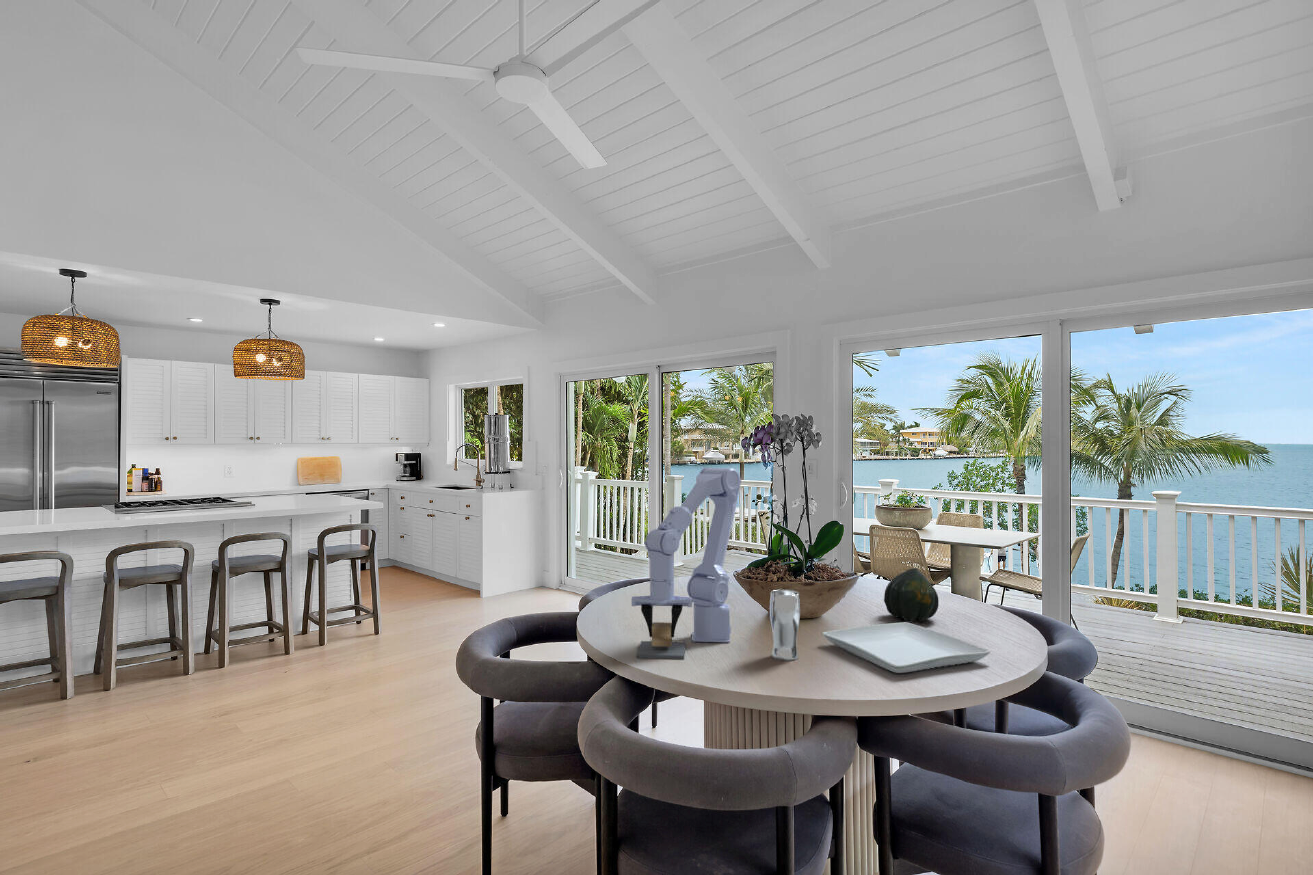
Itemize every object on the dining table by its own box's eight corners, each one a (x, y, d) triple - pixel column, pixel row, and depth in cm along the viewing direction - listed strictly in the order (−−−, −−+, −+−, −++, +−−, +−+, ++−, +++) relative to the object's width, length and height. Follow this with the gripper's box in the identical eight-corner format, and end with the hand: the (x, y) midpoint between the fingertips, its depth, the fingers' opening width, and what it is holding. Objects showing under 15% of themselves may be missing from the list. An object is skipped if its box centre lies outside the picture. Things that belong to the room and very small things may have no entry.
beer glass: (804, 655, 157) (803, 591, 157) (794, 663, 151) (794, 596, 151) (776, 650, 160) (775, 588, 161) (765, 658, 154) (765, 593, 155)
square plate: (820, 646, 165) (819, 630, 165) (907, 635, 175) (907, 620, 175) (896, 681, 140) (896, 663, 140) (993, 666, 150) (993, 649, 150)
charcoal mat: (685, 645, 165) (685, 641, 165) (684, 659, 154) (684, 655, 154) (641, 644, 166) (641, 640, 166) (636, 657, 155) (636, 654, 155)
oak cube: (671, 641, 162) (671, 622, 162) (670, 646, 157) (670, 627, 157) (653, 640, 162) (653, 622, 162) (651, 646, 157) (651, 627, 157)
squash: (883, 605, 183) (919, 564, 184) (868, 595, 198) (901, 558, 199) (923, 640, 182) (958, 599, 183) (904, 628, 197) (937, 590, 198)
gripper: (630, 582, 157) (630, 640, 156) (691, 583, 155) (691, 641, 155) (633, 576, 164) (633, 631, 163) (692, 577, 162) (692, 633, 162)
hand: (661, 636), depth 160 cm, fingers closed on oak cube, 4 cm apart
